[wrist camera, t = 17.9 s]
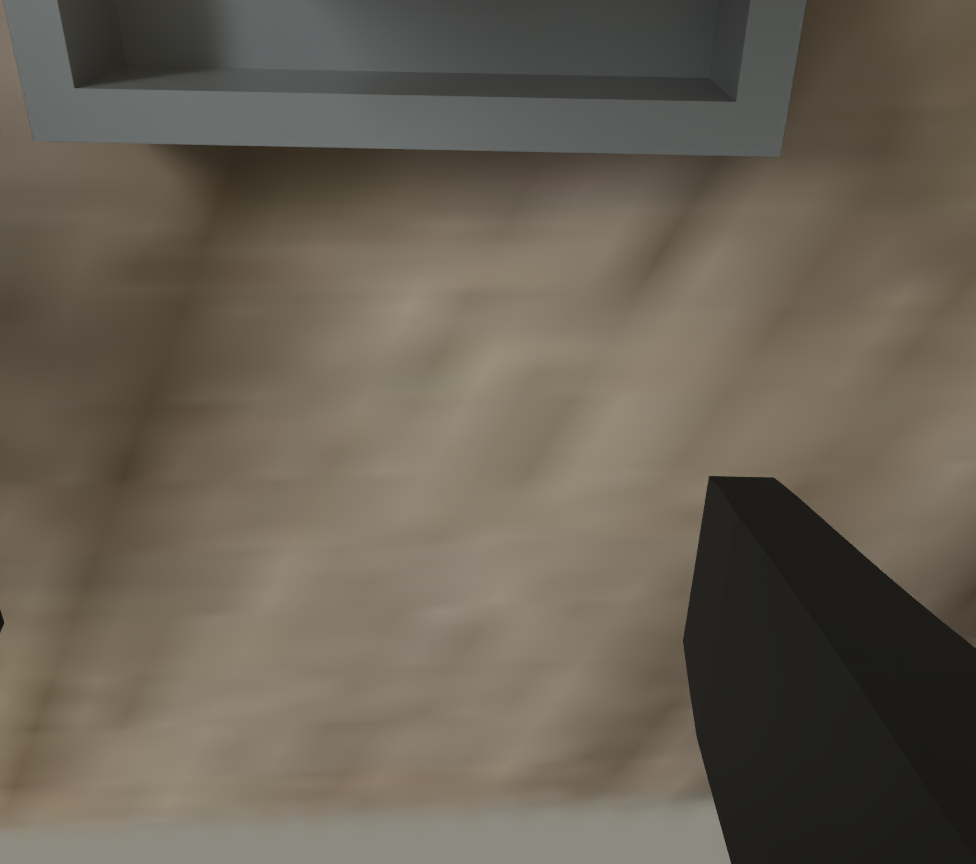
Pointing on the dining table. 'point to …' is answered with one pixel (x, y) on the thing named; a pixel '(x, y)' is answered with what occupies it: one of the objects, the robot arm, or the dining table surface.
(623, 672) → the dining table surface
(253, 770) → the dining table surface
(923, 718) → the robot arm
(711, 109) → the tote
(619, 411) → the dining table surface
